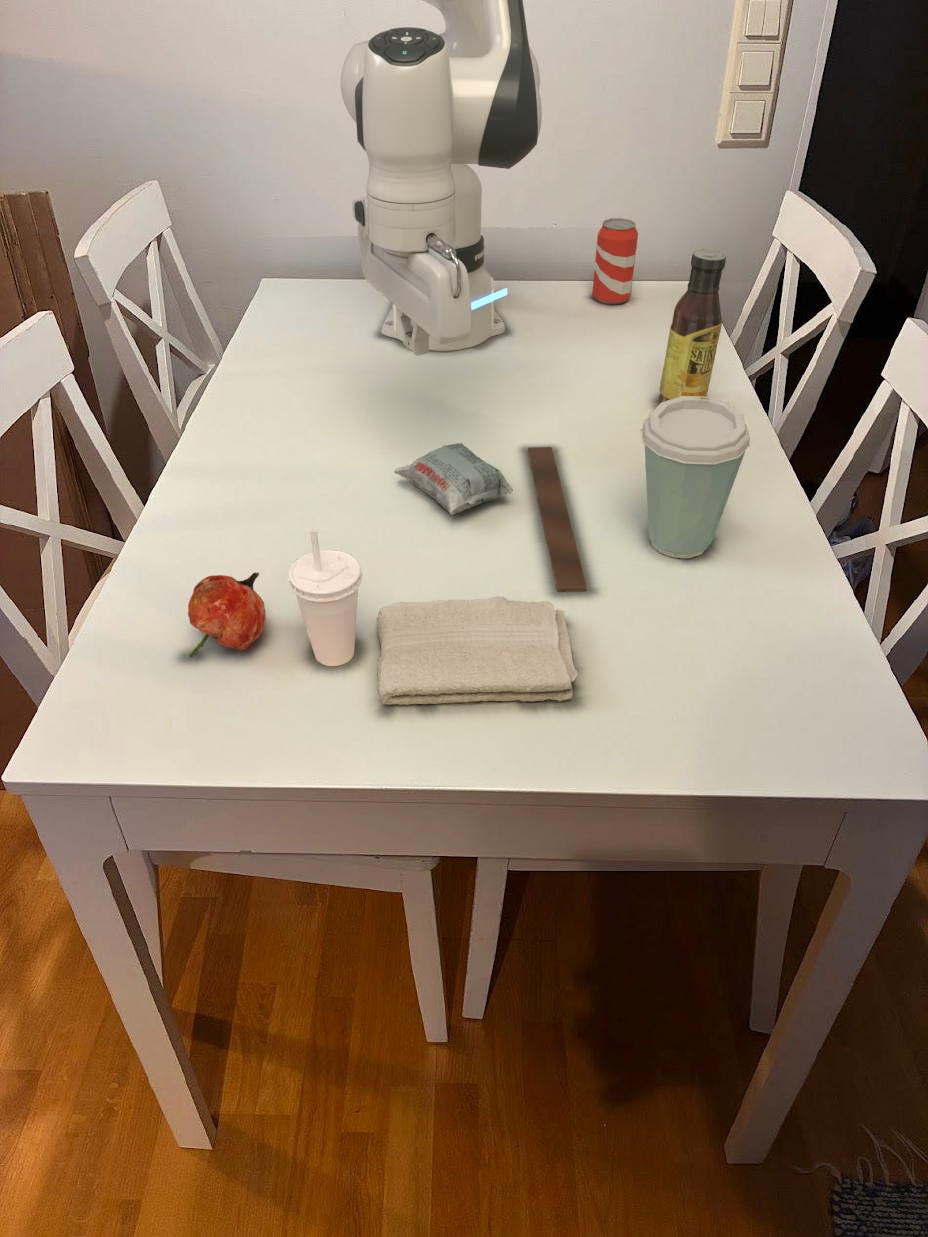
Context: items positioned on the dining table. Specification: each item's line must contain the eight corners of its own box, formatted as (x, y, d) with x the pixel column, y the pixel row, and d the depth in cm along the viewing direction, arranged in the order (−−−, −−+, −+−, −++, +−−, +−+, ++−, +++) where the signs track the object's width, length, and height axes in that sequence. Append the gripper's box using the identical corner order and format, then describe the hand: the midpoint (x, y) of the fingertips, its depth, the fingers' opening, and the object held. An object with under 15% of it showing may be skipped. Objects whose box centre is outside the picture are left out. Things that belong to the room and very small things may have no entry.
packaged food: (451, 532, 102) (451, 493, 99) (393, 484, 109) (392, 447, 106) (514, 507, 106) (516, 469, 103) (454, 463, 113) (454, 427, 110)
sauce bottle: (684, 421, 121) (711, 268, 109) (647, 404, 125) (669, 253, 112) (715, 405, 125) (745, 255, 112) (678, 389, 128) (703, 242, 115)
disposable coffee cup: (718, 580, 96) (747, 452, 86) (615, 558, 99) (632, 432, 89) (732, 525, 103) (760, 402, 94) (637, 506, 106) (654, 385, 96)
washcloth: (581, 703, 82) (583, 678, 80) (377, 713, 81) (374, 687, 79) (561, 617, 91) (563, 592, 89) (377, 624, 90) (375, 599, 88)
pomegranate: (226, 693, 86) (299, 616, 85) (163, 657, 81) (239, 575, 80) (209, 651, 92) (278, 578, 91) (149, 614, 87) (221, 537, 86)
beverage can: (620, 309, 150) (629, 232, 142) (585, 300, 152) (591, 224, 144) (636, 297, 153) (646, 221, 146) (601, 289, 156) (609, 214, 148)
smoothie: (292, 640, 88) (273, 517, 79) (356, 623, 90) (345, 501, 81) (311, 684, 84) (293, 559, 75) (378, 665, 86) (368, 541, 77)
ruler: (527, 450, 116) (527, 447, 115) (551, 450, 116) (551, 446, 115) (556, 591, 94) (557, 588, 94) (586, 590, 94) (586, 587, 94)
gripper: (488, 247, 88) (486, 382, 97) (398, 189, 102) (403, 311, 111) (429, 258, 86) (432, 395, 95) (345, 197, 100) (354, 321, 109)
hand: (416, 349), depth 103 cm, fingers closed
